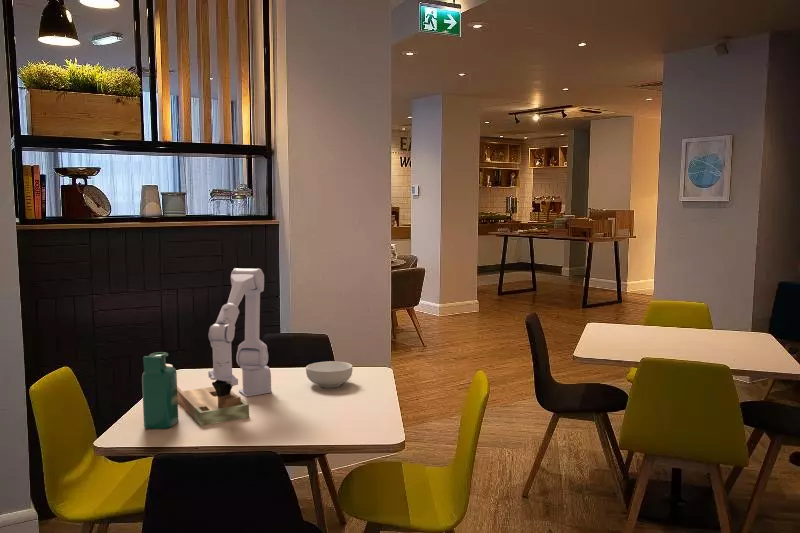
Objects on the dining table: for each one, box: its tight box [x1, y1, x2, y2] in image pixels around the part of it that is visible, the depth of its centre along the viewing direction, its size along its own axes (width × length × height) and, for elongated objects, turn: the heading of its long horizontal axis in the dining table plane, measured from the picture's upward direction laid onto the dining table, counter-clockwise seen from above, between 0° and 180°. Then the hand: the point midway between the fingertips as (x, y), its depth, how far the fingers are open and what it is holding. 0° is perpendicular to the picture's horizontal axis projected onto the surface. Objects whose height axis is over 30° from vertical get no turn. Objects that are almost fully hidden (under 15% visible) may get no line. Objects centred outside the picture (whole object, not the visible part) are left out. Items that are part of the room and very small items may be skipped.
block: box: [218, 394, 242, 409], centre depth 207 cm, size 5×5×4 cm
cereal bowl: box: [305, 360, 353, 389], centre depth 242 cm, size 17×17×7 cm
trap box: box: [177, 380, 250, 427], centre depth 216 cm, size 15×33×4 cm, turn 31°
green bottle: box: [141, 351, 179, 430], centre depth 198 cm, size 10×8×22 cm
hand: (223, 403), depth 210 cm, fingers closed
